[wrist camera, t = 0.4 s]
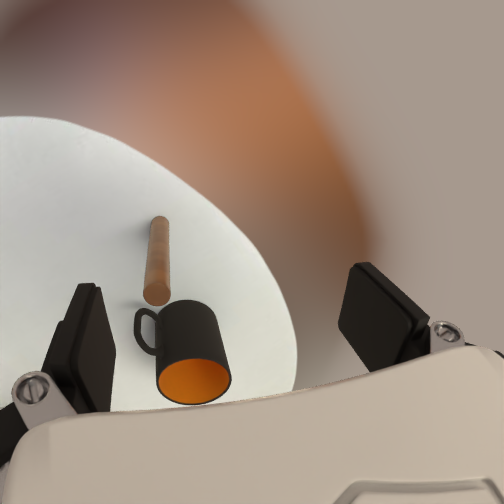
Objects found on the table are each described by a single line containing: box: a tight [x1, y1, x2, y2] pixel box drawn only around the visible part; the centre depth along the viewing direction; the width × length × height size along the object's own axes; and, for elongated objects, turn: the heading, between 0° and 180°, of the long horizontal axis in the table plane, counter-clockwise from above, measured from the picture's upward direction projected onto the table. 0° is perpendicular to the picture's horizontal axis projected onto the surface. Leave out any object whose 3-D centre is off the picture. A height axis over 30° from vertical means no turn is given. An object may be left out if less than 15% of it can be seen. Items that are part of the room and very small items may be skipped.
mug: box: [134, 300, 232, 405], centre depth 35 cm, size 8×12×10 cm
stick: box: [143, 216, 171, 306], centre depth 28 cm, size 2×2×14 cm
